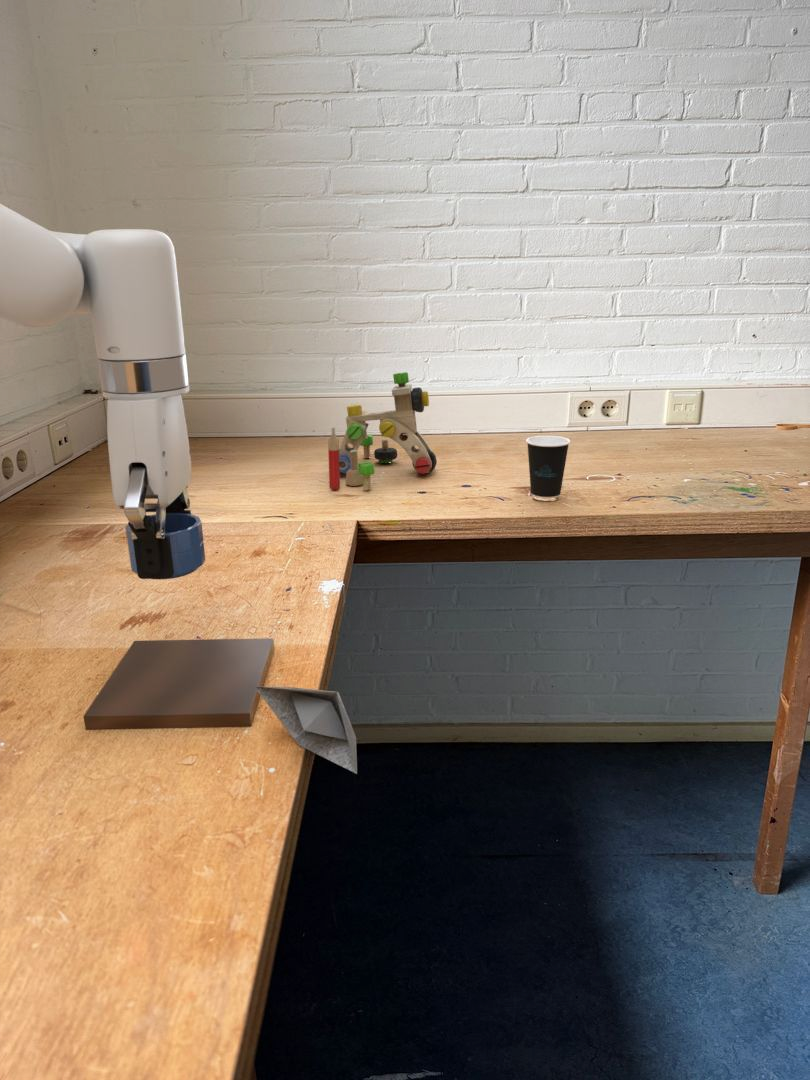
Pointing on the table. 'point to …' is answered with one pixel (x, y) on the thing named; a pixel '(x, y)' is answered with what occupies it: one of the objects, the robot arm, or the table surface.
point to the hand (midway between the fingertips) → (167, 561)
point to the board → (183, 685)
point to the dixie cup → (547, 465)
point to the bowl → (178, 543)
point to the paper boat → (315, 722)
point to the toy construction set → (390, 426)
